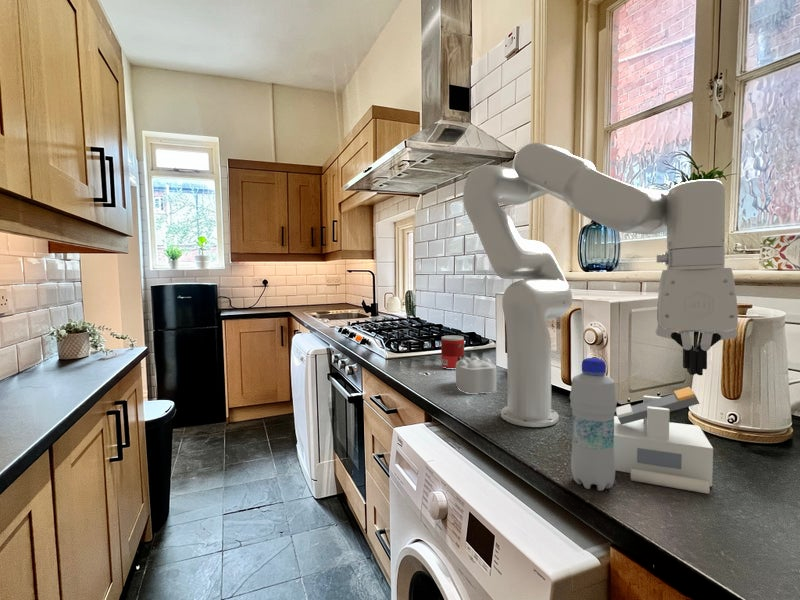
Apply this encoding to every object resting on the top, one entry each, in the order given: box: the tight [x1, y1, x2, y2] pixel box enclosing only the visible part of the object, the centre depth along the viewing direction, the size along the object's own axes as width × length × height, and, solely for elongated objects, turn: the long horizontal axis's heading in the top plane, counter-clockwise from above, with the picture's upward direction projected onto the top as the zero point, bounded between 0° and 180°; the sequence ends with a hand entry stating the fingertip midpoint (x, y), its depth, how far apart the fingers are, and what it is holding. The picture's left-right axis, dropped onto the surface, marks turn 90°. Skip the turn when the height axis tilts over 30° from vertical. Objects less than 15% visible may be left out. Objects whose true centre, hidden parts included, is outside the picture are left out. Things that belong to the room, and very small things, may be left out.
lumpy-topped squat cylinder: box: [455, 355, 497, 393], centre depth 119 cm, size 10×13×9 cm
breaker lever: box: [615, 386, 701, 425], centre depth 70 cm, size 5×12×2 cm, turn 64°
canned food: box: [440, 334, 465, 368], centre depth 144 cm, size 8×8×11 cm
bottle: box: [569, 357, 618, 492], centre depth 64 cm, size 7×7×20 cm
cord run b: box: [630, 468, 711, 494], centre depth 63 cm, size 10×2×2 cm, turn 64°
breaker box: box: [614, 395, 714, 487], centre depth 70 cm, size 10×14×11 cm
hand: (694, 373), depth 67 cm, fingers closed
